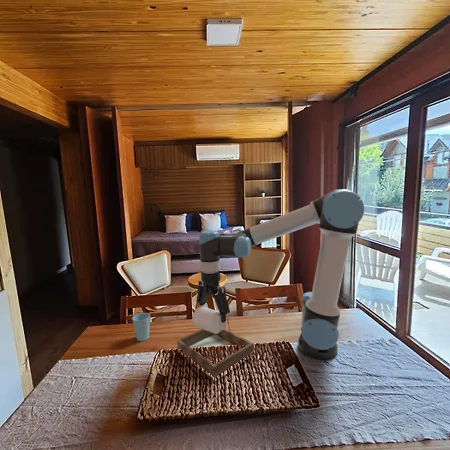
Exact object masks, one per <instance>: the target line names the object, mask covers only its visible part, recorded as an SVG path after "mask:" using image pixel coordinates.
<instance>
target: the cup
mask: <svg viewBox="0 0 450 450" xmlns="http://www.w3.org/2000/svg"><path fill="white" fill-rule="evenodd" d="M150 319H151V313H147V312H141V313H137V314H135V315H133V317H132V318H131V320H132V324H133V327H134V333H135V336H136V337H135V339H136V340H137V341H138V342H144V341H146V340H149V338H150V329H151V328H150V324H151V320H150Z"/></svg>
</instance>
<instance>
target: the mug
mask: <svg viewBox="0 0 450 450" xmlns="http://www.w3.org/2000/svg"><path fill="white" fill-rule="evenodd" d="M218 314H220V312H219V310H218V309H217V310H216V309H212V308H208V307H207V308H206V307H203V306H201V307H200V306H199V307H197V308H196V309H195V311H194V312H193V314H192V324H193V325H194V326H195V327H196V328H199V329H200V330H201V329H204V330H206V331H209V332H212V333H214V334H217V333H219V332H220V331H219V315H218Z"/></svg>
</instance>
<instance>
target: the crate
mask: <svg viewBox="0 0 450 450" xmlns="http://www.w3.org/2000/svg"><path fill="white" fill-rule="evenodd" d="M176 343H177V344H176V345H177V350H178V349H181V350H183V351H184V352H185V353H186V354H187V355H188V356H189V357H190V358H191V359H192V360H193V361H194V362H196V363H197V364H198V365H199V366H201V367H202V368H203V369H204V370H206V371H207V372H208V373H210V374H211V375H212V376H213V377H217V376H218V375H219V374H221V373H222V372H224V371H225V370H227V369H228V368H230V367H231V366H233V365H234V364H236V363H237V362H239V361H240V360H242V359H243V358H244V357H246V356H247V355H248V354H250V353H251V352H252V351H253V350H254V349H255V348H254V342H252V341H250V340H248V339H246V338H245V337H244V338H243V337H242V336H240V335H238V334H236V333H235V332H233V331H231V330H229V329H227V328H226V329H224V330H222V331H220V332H219V333H217V334H214V333H212V332H209V331H206V330H204V329H201V328H200V329H198V330H197V331H194V332H192V333H190V334H188V335H186V336H184V337H181V338H180V339H179V338H178V339H177V340H176ZM224 345H244V346H245V347H243V348H241V349H240V350H238V351H236V352H235V353H233V354H231V355H230V356H228V357H226V358H225V359H223V360H221V361H220V362H218V363H216V364H213V363H212V362H211V361H209V360H208V359H206V358H205V357H203V356H202V355H201V354H199V353H198V352H196V351H195V350H193V349H192V348H196V347H209V346H224Z"/></svg>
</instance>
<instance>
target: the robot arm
mask: <svg viewBox="0 0 450 450" xmlns="http://www.w3.org/2000/svg"><path fill="white" fill-rule="evenodd" d="M364 213H365V204H364V201H363V199H362V198H361V197H360V195H359V194H357V193H356V192H355V191H353V190H350V189H346V188H345V189H343V188H340V189H334V190H331V191H329V192H328V193H326V194H324V195H323V196H320V197H319V198H316V199H314V200H311V201H310V203H309V204H308V205H306V206H303V207H300V208H298V209H294V210H291V211H290V212H287V213H284V214H282V215H280V216H277V217H275V218H274V217H273V218H272V219H270V220H266V221H264V222H262V223H258V224H256V225H254V226H251V227H249V228H246V229H242V230H239V231H237V232H236V233H235V234H234V235H232V236H220V234H219V231H217V230H204V231H201V232H200V233H199V238H198V239H199V243H198V245H199V257H200V259H199V262H200V263H199V264H200V271H201V272H200V278H201V279H200V280H198V281H197V282H198V290H197V294H196V302H197V303H198V304H199V307H201V306H203V307H206V308H208V304H207V302H208V298H209V296H210V295H211V297H212V298H213V299H214V302H215V304H216V306H217V310H219V312H220V314H218V315H219V331H222V330H224V329H227V327H226V326H227V325H226V322H227V314H230V313H231V310H230V306H229V302H228V298H227V294H226V286H220V281H221V277H222V276H221V271H220V270H221V261H220V260H221V257H229V258H248V257H249V256H250V255H251V251H252V247H255V246H257V245H259V244H262V243H265V242H268V241H270V240H273V239H276V238H279V237H282V236H285V235H288V234H291V233H293V232H296V231H298V230H303V229H304V228H308V227H311V226H313V225H316V224H319V225H318V229H319V230H320V231H321V233H322V234H321V235H322V236H321V240H320V246H319V252H318V258H317V262H316V263H317V264H316V268H315V273H314V279H313V283H312V284H313V285H312V291H307V292H305V293H303V294H302V296H301V307H302V309H301V329H300V335H299V337H298V343H297V345H298V346H297V347H298V350H299V351H300V352H301V353H302V354H304V355H305V356H307V357H309V358H313V359H316V360H328V359H329V360H330V359H332V358H335V357H336V356H337V354H338V350H339V349H338V348H339V346H338V341H339V336H340V335H339V330H338V328H339V322H340V317H341V309H340V308H339V307H338V302H339V297H340V291H341V287H342V286H341V285H342V281H343V276H344V271H345V266H346V262H347V256H348V251H349V246H350V242H351V239H352V237H355V235H357V233H358V228H359V223H360V222H361V220H362V219H363V217H364Z"/></svg>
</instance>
